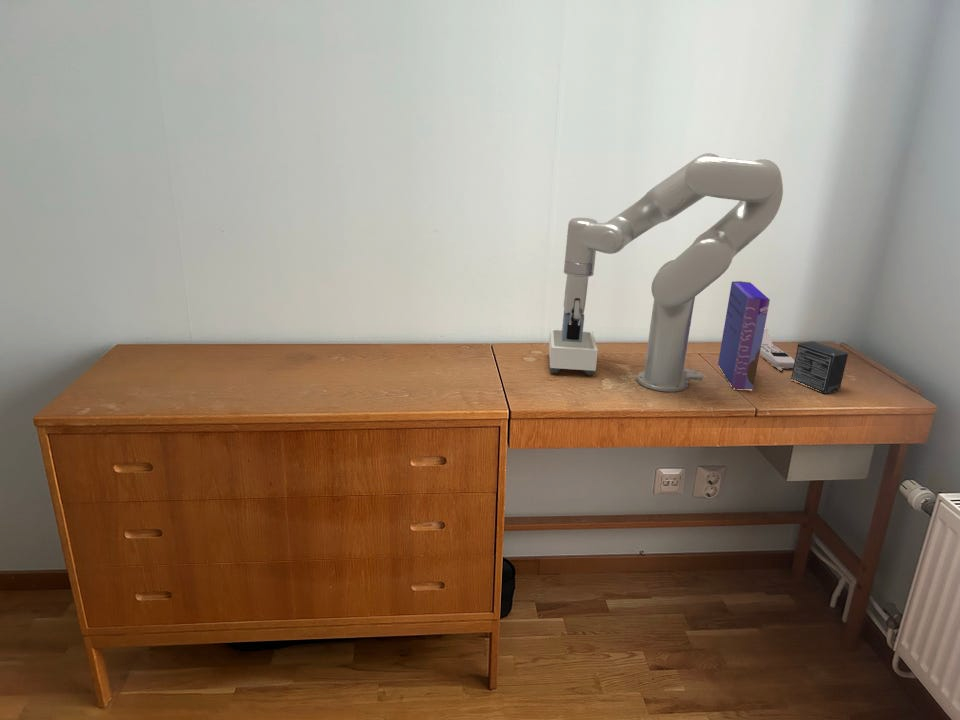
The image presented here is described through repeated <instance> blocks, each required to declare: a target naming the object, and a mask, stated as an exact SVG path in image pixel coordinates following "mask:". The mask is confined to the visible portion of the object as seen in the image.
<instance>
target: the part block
mask: <svg viewBox="0 0 960 720" xmlns="http://www.w3.org/2000/svg"><path fill="white" fill-rule="evenodd" d="M572 313H574V311H572ZM573 316H574V315H572V317H573ZM569 317H570V313H568V312H567V314H566V313H565V311H564V310H563V317H562V326H561V330H562V341H568V342H582V334H583V331H584V323H585V312H584V313H583V314H582V315H581V318H580V335H579V340H569V339H567V328H568V324H569Z"/></svg>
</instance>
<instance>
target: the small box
mask: <svg viewBox="0 0 960 720" xmlns="http://www.w3.org/2000/svg"><path fill="white" fill-rule="evenodd" d="M848 357H849V353H848V352H846V351H844V350H840V349H837V348H835V347H831V346H829V345H826V344H822V343H818V342H816V341H814V340H813V341H808V342H807V341H806V342H799V343H797V348H796V353H795V358H794V361H795V362H794V367H793V369H792V373H791V376H790V380H791V379H793V380H796V381H798V382H800V383H803V384H805V385H807V386H810V387H812V388H814V389H817V390H819V391H821V392H823V393H826V394H825V395H827V393H828V394H831V393H830V392H832V393H835V392H834V391H837V392H839V391H838V390H840V389H841V386H842V381H843V378H844V373H845V369H846V364H847V362H848ZM840 391H841V390H840ZM823 393H822V394H823Z"/></svg>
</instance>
